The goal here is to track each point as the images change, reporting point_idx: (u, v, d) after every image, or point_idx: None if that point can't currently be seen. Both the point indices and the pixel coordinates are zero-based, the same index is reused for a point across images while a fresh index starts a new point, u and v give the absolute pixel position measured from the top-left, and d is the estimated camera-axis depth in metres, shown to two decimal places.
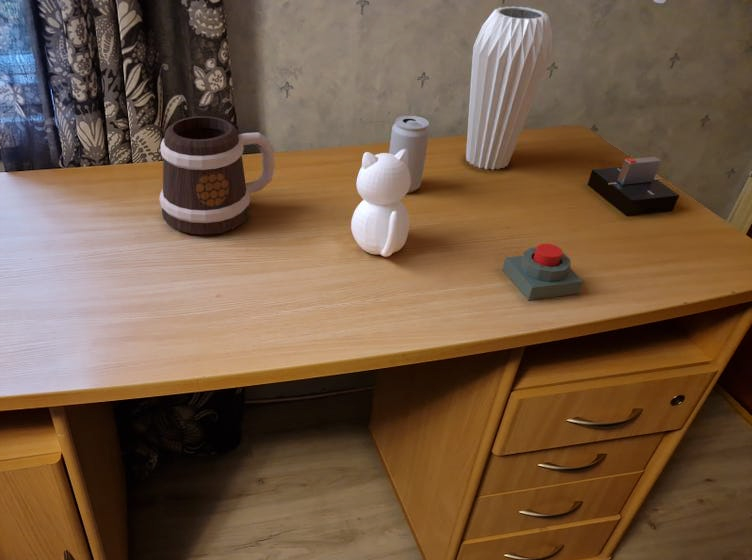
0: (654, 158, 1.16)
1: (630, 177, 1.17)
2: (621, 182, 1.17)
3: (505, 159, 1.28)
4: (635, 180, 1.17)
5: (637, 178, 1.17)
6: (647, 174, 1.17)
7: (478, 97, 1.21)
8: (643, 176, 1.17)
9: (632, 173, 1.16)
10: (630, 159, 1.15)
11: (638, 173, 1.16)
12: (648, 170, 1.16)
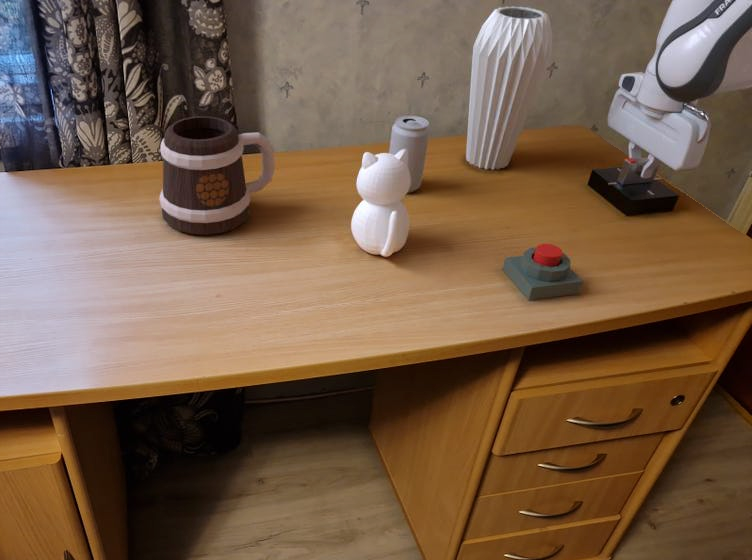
0: None
1: (630, 177, 1.17)
2: (621, 182, 1.17)
3: (505, 159, 1.28)
4: (635, 180, 1.17)
5: (637, 178, 1.17)
6: None
7: (478, 97, 1.21)
8: None
9: (632, 173, 1.16)
10: (630, 159, 1.15)
11: None
12: None
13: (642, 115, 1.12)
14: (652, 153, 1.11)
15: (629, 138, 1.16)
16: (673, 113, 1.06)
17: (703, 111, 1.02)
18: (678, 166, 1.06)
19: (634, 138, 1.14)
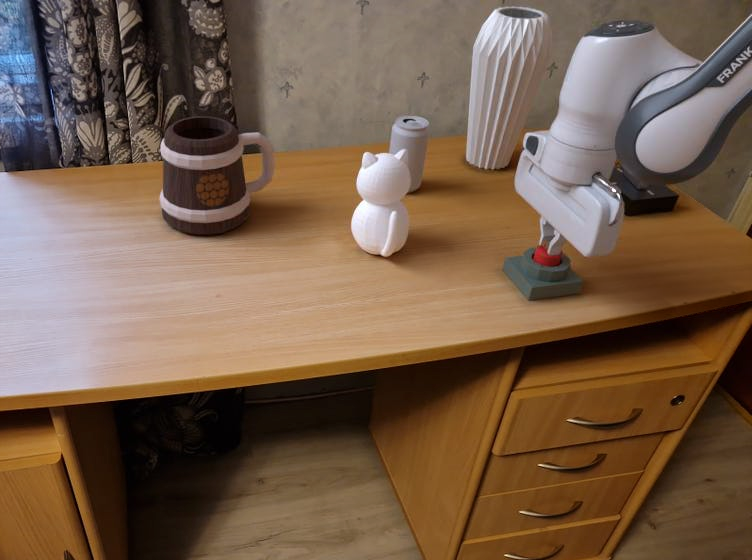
0: None
1: None
2: None
3: (505, 159, 1.28)
4: (629, 176, 1.18)
5: None
6: None
7: (478, 97, 1.21)
8: None
9: None
10: None
11: None
12: None
13: (549, 184, 0.92)
14: (561, 231, 0.90)
15: (536, 209, 0.95)
16: (581, 187, 0.85)
17: (614, 188, 0.81)
18: (588, 253, 0.85)
19: (541, 210, 0.94)
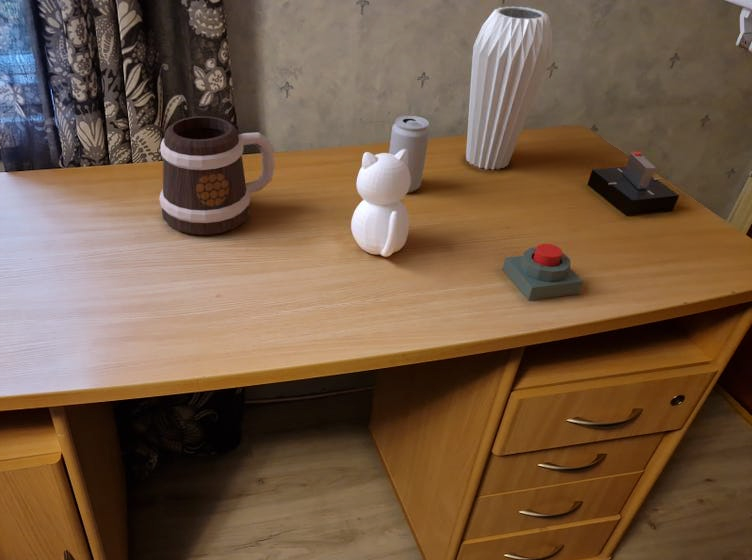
0: (649, 165, 1.14)
1: (628, 169, 1.19)
2: None
3: (505, 159, 1.28)
4: (629, 176, 1.18)
5: (631, 175, 1.18)
6: (636, 176, 1.16)
7: (478, 97, 1.21)
8: (634, 176, 1.17)
9: (629, 166, 1.18)
10: (637, 152, 1.17)
11: (632, 169, 1.17)
12: (638, 172, 1.16)
13: None
14: None
15: (738, 2, 0.89)
16: None
17: None
18: None
19: (746, 0, 0.88)
